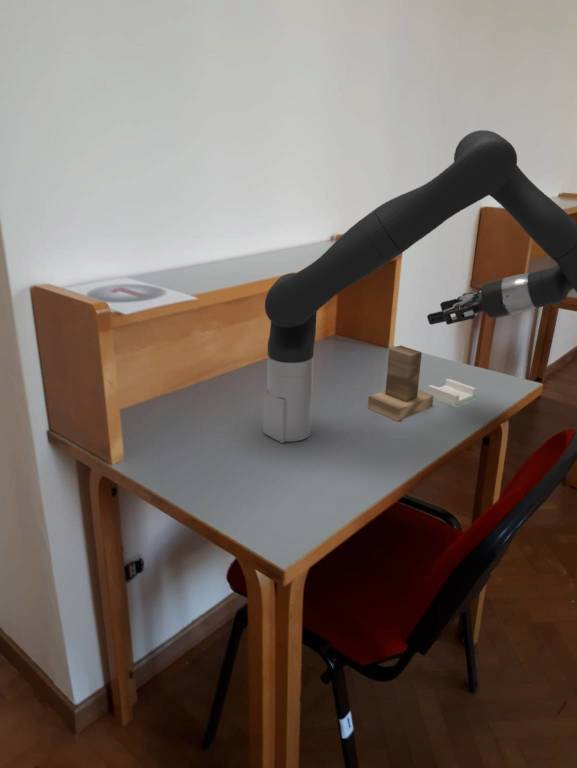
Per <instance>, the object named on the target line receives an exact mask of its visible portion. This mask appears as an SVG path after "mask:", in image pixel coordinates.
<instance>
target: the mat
mask: <svg viewBox="0 0 577 768" xmlns="http://www.w3.org/2000/svg"><path fill="white" fill-rule="evenodd" d="M426 393H428V391H427V392H426ZM479 399H480V397H478V396H476V395H475V398H472V399H470V400H467V401H465V402H462V403H460V404H458V405H452V404H450V403H447V402H444V401H442V400H439V399H437V398H434V397H433V400H436V401H439V402H442V403H444V404H447V405H449V406H452V407H454V408H460V407H462V406H465V405H467V404H469V403H472V402H475V401H476V400H479Z"/></svg>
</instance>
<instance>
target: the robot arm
mask: <svg viewBox="0 0 577 768" xmlns="http://www.w3.org/2000/svg"><path fill="white" fill-rule="evenodd" d="M516 151H517V150H516V149H515V146H513V144H512V143H510V142H509V141H508V140H507V139H506V138H505V137H502V136H501V134H498V133H496V132H494V131H490V130H487V129H485V130H483V129H482V130H475V131H472V132H470V133H469V134H466V135H465V136H464V137H463V138H462V139H461V140H460V141H459V142H458V144H457V146H456V147H455V151H454V153H453V154H454V155H453V162H452V163H451V164H450V165H449V166H448V167H447V168H445V169H444V170H443V171H442V172H440V173H439V174H438V175H437V176H435V177H434V178H433V179H431V180H429V181H427V183H424V184H423V185H421V186H419V187H416V188H414V189H412V190H410V191H408V192H405V193H402V194H400V195H398V196H396V197H394V198H391V199H390V200H387V201H386V202H384V203H382V204H381V205H379V206H378V207H376V208H375V209H374V210H372V211H371V212H369V213H368V214H366V215H365V216H364V217H362V218H361V219H360V220H358V221H357V222H356V223H355V224H353V226H351V227H349V229H348V230H346V231H345V232H344V233H343V234H342V235H341V236H340V237H339V238H338V239H336V241H335V242H334V243H333V244H332V245H331V246H329V248H328V249H327V250H326V251H325V252H324V253H323V254H322V255H320V256H319V257H318V258H317V259H316V260H315V261H314V262H312V263H311V264H309V265H308V266H307V265H306V267H304V268H303V269H301V270H300V271H298V272H290V273H285V274H284V275H281V276H280V277H279V278H278V279H276V281H275V282H273V284H272V286H271V287H270V288H269V290H268V291H267V293H266V296H265V299H264V309H265V314H266V316H267V318H268V320H269V321H270V328H269V329H270V330H269V335H268V341H267V388H266V389H267V390H265V391H263V419H262V421H263V429H262V430H263V431H262V432H263V434H265V435H266V436H269V437H270V438H271V439H274V440H276V442H279V443H280V444H283V443H287V442H290V443H292V442H299V441H300V442H301V441H303V440H305V439H308V438H309V437H310V435H311V434H312V409H313V407H312V406H313V383H314V382H313V381H314V378H313V377H314V354H315V353H314V350H315V343H316V336H317V335H316V330H317V313H318V312H317V311H319V310H320V309H321V308H322V307H324V306H325V304H328V302H329V301H330V300H332V299H333V298H334V297H335V296H336V295H338V294H340V293H341V292H342V291H344V290H346V289H347V288H349V287H351V286H352V285H354V284H356V283H358V282H359V281H361V280H363V279H365V278H366V277H367V276H369V275H371V274H373V273H374V272H376V271H377V270H379V269H380V268H382V267H384V266H385V265H386V264H388V263H389V262H391V261H392V260H394V259H395V258H397V257H398V256H399V255H401V254H403V253H404V252H406V250H408V249H409V248H411V247H413V245H414V244H416V243H417V242H418V241H420V240H422V239H423V238H424V237H426V236H427V235H428V234H430V233H431V232H433V231H435V230H436V229H437V228H438V227H439V226H441V225H442V224H443V223H444V222H446V221H447V220H449V219H450V218H452V217H453V216H455V215H457V214H458V213H460V212H461V211H462V210H465V209H467V208H469V207H470V206H472V205H473V204H476V203H477V202H479V201H481V200H483V199H484V198H486V197H488V196H490V197H491V198H493V200H495V201H496V202H497V203H498V204H499V205H500V206H501V207H503V209H504V210H505V211H506V212H507V213H508V214H510V215H511V217H513V219H514V220H515V221H516V222H517V223H518V224H519V225H520V227H521V228H522V229H523V230H524V231H525V232H526V234H527V235H528V236H529V237H530V238H531V239H532V241H534V243H535V244H536V245H537V246H539V248H540V249H541V250H542V251H544V253H546V254H547V255H548V256H549V257H550V258H551V259H552V260H553V262H555V263H556V265H554V266H552V267H550V268H546V269H545V268H544V269H541V270H536V271H532V272H527V273H521V274H516V275H515V274H514V275H511V276H508V277H502V278H500V279H496V280H492V281H488V282H484V283H483V285H482V286H481V290H480V289H479V290H478V289H477V290H474V291H470V292H465V293H463V294H462V295H460V296H458V297H456V298H453V299H449V300H445V301H442V302H441V303H440V304H439V305H440V308H441V310H439V311H436V312H432V313H428V315H427V316H426V318H427V321H428V323H429V325H435V324H440V323H445V324H446V325H451V324H452V325H453V324H456V323H459V322H465V321H469V320H474V319H475V318H476V317H477V316H479V315H480V313H481V312H485V313H486V315H487V317H488V318H490V320H494V319H499V318H504V317H506V316H512V315H517V314H521V313H525V312H529V311H532V310H534V309H538V308H542V307H547V306H551V305H557V304H560V303H562V302H563V301H565V300H566V298H567V297H568V295H569V293H570V292H571V291H572V290H575V293H577V222H576V221H575V220H574V219H573V218H572V216H571V215H569V214H568V213H567V211H565V210H564V209H563V208H562V207H561V206H559V205H558V204H557V203H556V202H555V201H553V199H551V198H550V197H549V196H548V195H546V194H545V193H544V192H543V191H542V190H540V189H539V187H537V185H536V184H534V182H532V181H531V180H530V178H528V177H527V176H526V174H525V173H524V172H523V170H521V168H520V167H519V165H517V164H518V155H517V152H516ZM453 314H454V316H451V315H453Z"/></svg>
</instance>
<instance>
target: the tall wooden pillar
mask: <svg viewBox="0 0 577 768" xmlns="http://www.w3.org/2000/svg"><path fill="white" fill-rule="evenodd" d="M422 353H423V352H422V351H419V350H416V349H413V348H410V347H407V346H404V345H397V346H394V347H391V348H388V355H387V356H388V358H387V371H386V382H385V383H386V385H385V391H386V393H385V394H386V395H389V396H391V397H393V398H396V399H398V400H401V401H403V402H408V401H411V400H413V399H416V398H417V394H418V390H419V383H420V375H421V374H420V373H421V372H420V371H421V363H422V355H423V354H422Z"/></svg>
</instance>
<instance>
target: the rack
mask: <svg viewBox="0 0 577 768" xmlns="http://www.w3.org/2000/svg"><path fill="white" fill-rule="evenodd" d="M427 392H428V393H427ZM427 392H426V393H427V394H430V395H432V396H433V397H434V398H437V399H439V400H442V401H444V402H447V403H450V404H452V405H458V404H460V403H462V402H465V401H467V400H470V399H472V398H475V396H476V393H477V388H476V387H474V386H471V385H468V384H465V383H462V382H459V381H457V380H454V379H450V378H446V379H445V383H444V385H443V386H440V387H439V386H435V385H432V384H430V385H428V388H427ZM439 400H438V401H439ZM444 402H443V403H444ZM452 405H451V406H452Z"/></svg>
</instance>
